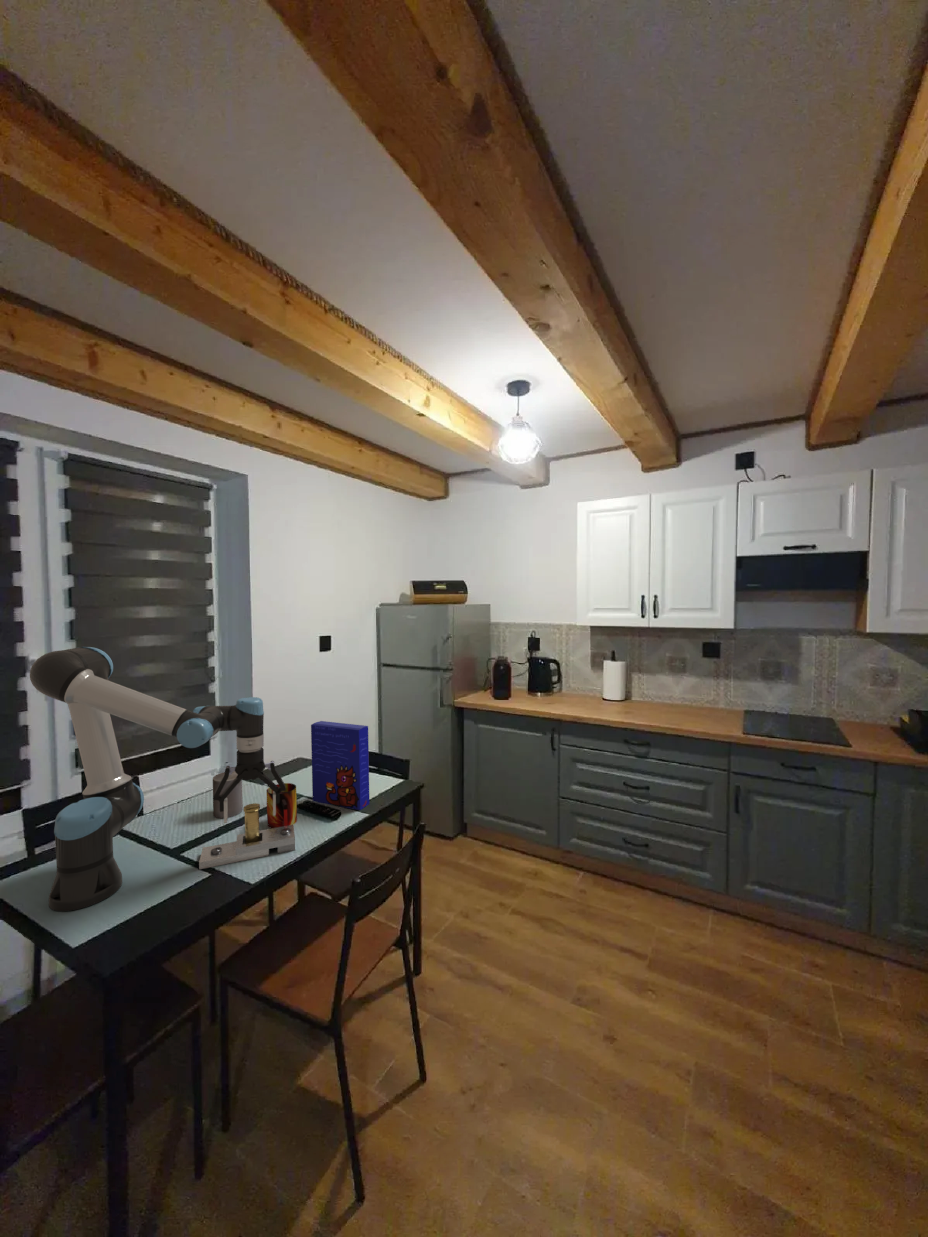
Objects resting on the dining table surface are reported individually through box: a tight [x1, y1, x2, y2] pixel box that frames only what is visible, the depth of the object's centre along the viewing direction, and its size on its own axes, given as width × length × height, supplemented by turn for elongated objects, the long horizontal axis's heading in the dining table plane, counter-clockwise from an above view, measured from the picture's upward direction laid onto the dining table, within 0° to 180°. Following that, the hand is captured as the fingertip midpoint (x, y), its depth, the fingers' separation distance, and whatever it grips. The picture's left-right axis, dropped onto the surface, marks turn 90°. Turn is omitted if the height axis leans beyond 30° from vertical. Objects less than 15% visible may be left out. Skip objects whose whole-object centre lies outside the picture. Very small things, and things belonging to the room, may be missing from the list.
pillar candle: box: [212, 771, 244, 819], centre depth 171 cm, size 10×10×15 cm
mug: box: [266, 782, 298, 829], centre depth 162 cm, size 10×14×12 cm
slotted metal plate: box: [198, 825, 296, 870], centre depth 144 cm, size 26×9×5 cm, turn 113°
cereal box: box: [310, 720, 371, 811], centre depth 178 cm, size 22×6×30 cm, turn 68°
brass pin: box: [243, 802, 261, 844], centre depth 144 cm, size 5×5×14 cm
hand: (250, 817), depth 144 cm, fingers open, 13 cm apart
